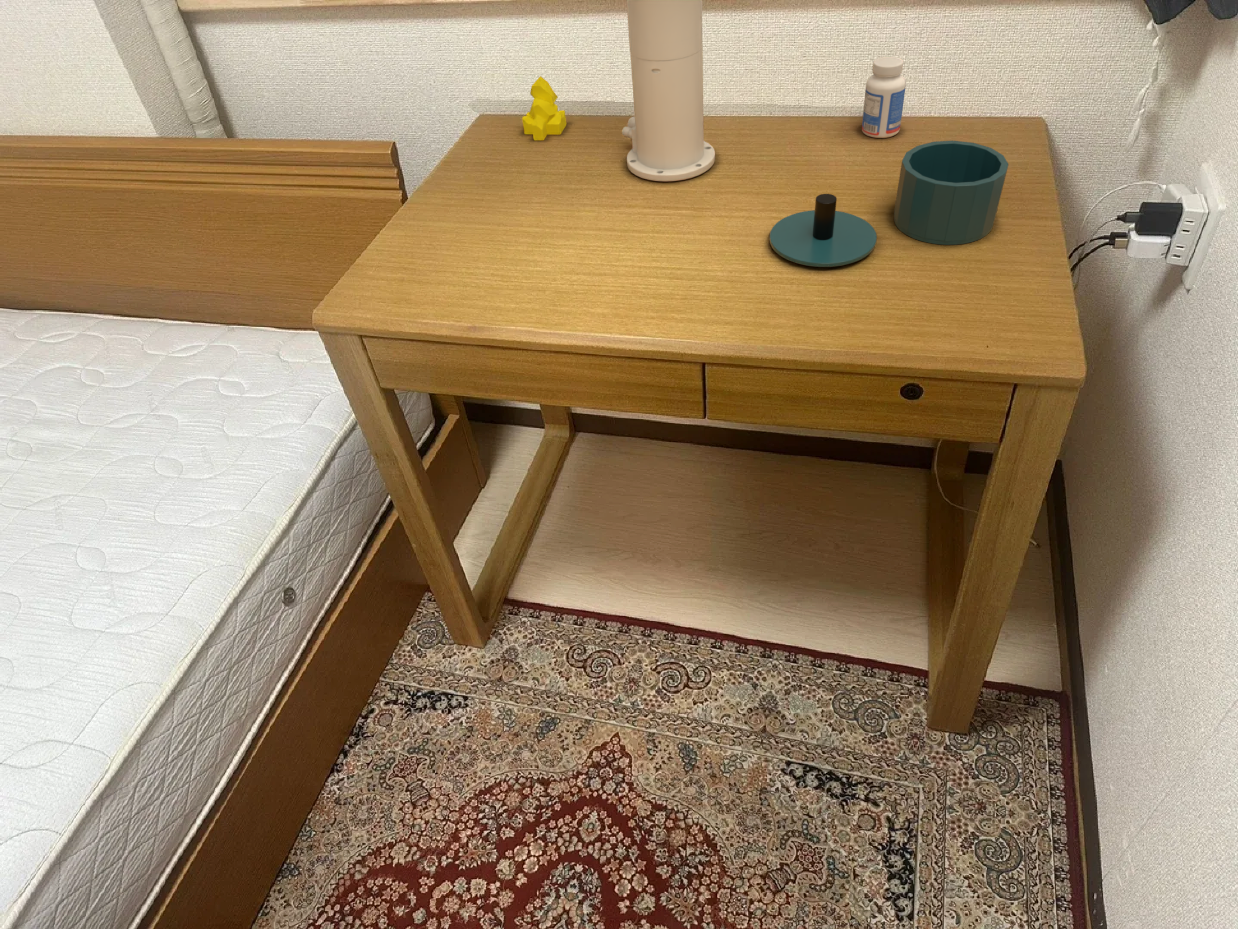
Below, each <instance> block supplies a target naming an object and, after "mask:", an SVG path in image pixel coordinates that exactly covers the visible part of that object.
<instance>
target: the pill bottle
mask: <svg viewBox="0 0 1238 929" xmlns="http://www.w3.org/2000/svg"><path fill="white" fill-rule="evenodd" d="M903 67H904V60H903V59H902V58H900V57H897V56H891V55H888V56H887V55H886V56H880V57H877V58H875V59H874V60H873V62H872V69H871V71H872V75H870V76H869V77H868V79H867V80H866V83H865V90H864V91H865V92H864V100H863V110H862V112H863V113H862V121H861V131H862V133H863V134H864V135H866V137H867V136H868V137H871V138H875V139H885V138H891V137H893V136H895V135H897V134H898V133H899V132H900V130H901V127H902V126H901V125H902V119H903V118H902V116H903V112H904V110H903V109H904V104H905V103H904V102H905V95H906V86H907V79H906V78H905V77H904V76H903V75H902V73H903V70H904V69H903Z"/></svg>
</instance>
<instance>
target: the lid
mask: <svg viewBox="0 0 1238 929" xmlns="http://www.w3.org/2000/svg"><path fill="white" fill-rule="evenodd" d="M837 201H838V200H837V196H836V195H834V194H831V193H821V194H819V195H817V196H816V197H815V203H814V210H812V209H811V210H804V211H800V212H795V213H792V214H790V215H787V216H785V217H783V218H782V219H780V220H778V221H777V222H776V223H775V224H774V225H773V227H772V228H771V230H770V232H769V243H770V246H771V248H772V249H773V251H774V252H775V253H776V254H777V255H779V256H780V257H781V258H783V259H785V260H788V261H789V262H793V263H794V264H795V263H796V264H799V265H803V266H807V267H808V266H809V267H818V268H831V267H840V266H845V265H849V264H853V263H856V262H858V261H860V260H863V259H864V258H866V257H867V256H868V255H870V254H871V253H872V252H873V251H874V249H875V248H876V244H877V239H878V235H877V232H876V230H875V228H874V227H873V226H872V225H871V224H870V223H869V222H868V221H866V220H865V219H863V218H862V217H860V216H857V215H855V214H853V213H848V212H844V211H839V210H837Z"/></svg>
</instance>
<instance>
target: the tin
mask: <svg viewBox="0 0 1238 929" xmlns="http://www.w3.org/2000/svg"><path fill="white" fill-rule="evenodd" d="M1008 168H1009V163H1008V161H1007V159H1006V157H1005V156H1004V155H1003V154H1002V153H1001V152H998V151H997V150H995V149H993V148H992V147H989V146H986V145H983V144H979V143H976V142H971V141H961V140H939V141H929V142H927V143H923V144H919V145H915V147H913V148H911V149H910V150H908V151H906V152H905V153H904V156H903V158H902V160H901V165H900V172H899V178H898V183H897V184H898V186H897V191H896V197H895V204H894V210H893V222H894V224H895V226H896V228H897V229H898V230H899V231H900V232H901V233H903V234H904V235H906V236H908V237H910V238H912V239H914V240H917V241H920V242H923V243H928V244H933V245H942V246H955V245H956V246H957V245H963V244H970V243H974V242H976V241H979V240H981V239H983V238H985V237H986V236H988V235H989V234H990V233H991V231H992V229H993V227H994V224H995V221H996V217H997V213H998V208H999V205H1000V200H1001V197H1002V193H1003V188H1004V185H1005V181H1006V176H1007V172H1008Z"/></svg>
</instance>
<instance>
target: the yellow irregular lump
mask: <svg viewBox="0 0 1238 929" xmlns="http://www.w3.org/2000/svg"><path fill="white" fill-rule="evenodd" d="M529 94H530V96H531V97H532V98H533V100H532V103H531V107H530V109H529V111H527V112H526V114H525V115H523V116H522V117H521V121H522V126H523V133H524V135H532V136H533V141H545V140H546V137H547V136H548V135H553V136H554V135H555V136H556V135H557V136H558V135H562V133H563V131H564V129H565V128H566V126H567V116H566V110H565V109H564V110H563V109H562V110H561V109H560V110H559V106H558V104H556V103H555V102H556V100H557V99H558V98H559V96H558V95H557V94H556V92H555V90H554V89H553V87H552V86H551V84H550V83H549V82H548V81H547V80H546V79H545V78H543V77H542V76H541V75H539V77H537V79H536V80H535V82H533V83H532V85H531V87H530V93H529Z"/></svg>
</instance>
